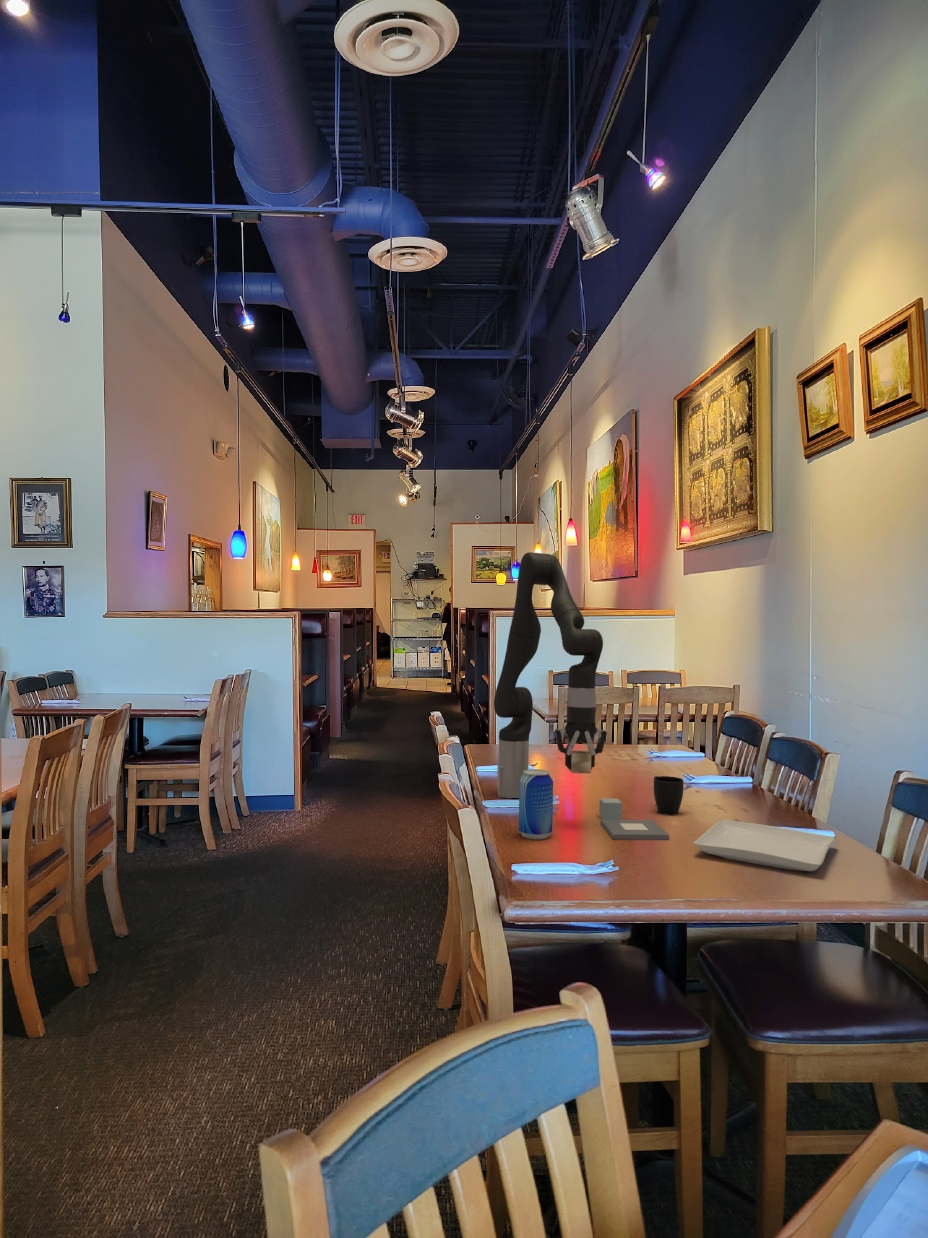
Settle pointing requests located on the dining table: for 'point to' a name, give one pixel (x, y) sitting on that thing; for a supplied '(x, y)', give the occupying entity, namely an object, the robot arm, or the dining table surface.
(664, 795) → the mug
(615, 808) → the bluegrey cube
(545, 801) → the beer can
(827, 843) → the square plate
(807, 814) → the dining table surface
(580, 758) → the maple cube
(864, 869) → the dining table surface
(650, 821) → the board
